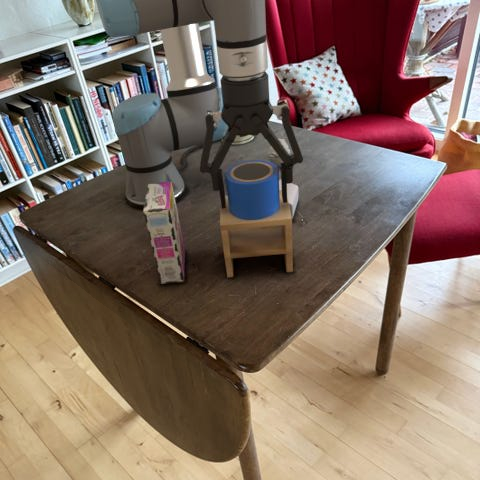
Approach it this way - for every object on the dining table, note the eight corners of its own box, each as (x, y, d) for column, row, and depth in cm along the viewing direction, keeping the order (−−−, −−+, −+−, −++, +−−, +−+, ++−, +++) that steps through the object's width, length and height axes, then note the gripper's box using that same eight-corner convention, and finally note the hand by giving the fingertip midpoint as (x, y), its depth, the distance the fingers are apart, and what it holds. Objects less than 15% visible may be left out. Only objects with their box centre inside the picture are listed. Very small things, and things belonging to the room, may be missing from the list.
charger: (302, 189, 114) (292, 221, 104) (266, 188, 116) (253, 219, 106) (302, 171, 111) (292, 202, 101) (265, 171, 113) (251, 201, 103)
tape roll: (229, 196, 90) (224, 162, 85) (277, 192, 90) (276, 157, 85) (229, 222, 83) (224, 186, 78) (282, 217, 83) (280, 180, 78)
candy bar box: (186, 282, 91) (169, 208, 80) (161, 285, 91) (141, 212, 80) (186, 250, 99) (172, 179, 88) (163, 253, 99) (146, 183, 88)
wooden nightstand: (227, 246, 99) (220, 195, 91) (287, 240, 98) (285, 189, 90) (227, 277, 91) (220, 225, 83) (292, 271, 90) (291, 218, 82)
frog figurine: (290, 159, 128) (289, 134, 123) (290, 170, 123) (290, 144, 118) (268, 160, 128) (267, 135, 124) (267, 172, 123) (266, 146, 118)
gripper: (167, 89, 69) (191, 218, 84) (322, 72, 68) (319, 206, 83) (171, 74, 74) (193, 198, 89) (315, 59, 73) (313, 186, 88)
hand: (254, 202), depth 86 cm, fingers open, 11 cm apart
